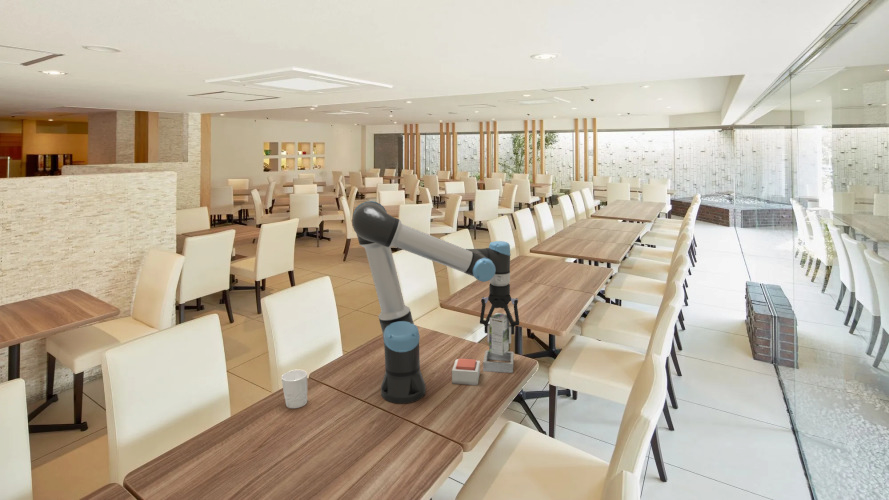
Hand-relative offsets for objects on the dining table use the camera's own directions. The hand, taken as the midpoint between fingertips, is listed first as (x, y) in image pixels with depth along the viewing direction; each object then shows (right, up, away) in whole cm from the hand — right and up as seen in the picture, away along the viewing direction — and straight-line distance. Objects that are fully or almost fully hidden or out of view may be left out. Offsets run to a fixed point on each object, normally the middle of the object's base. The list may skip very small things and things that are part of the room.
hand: (499, 341), depth 173 cm
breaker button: (-13, -11, -8) cm, 19 cm away
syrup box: (0, -4, +1) cm, 4 cm away
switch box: (-13, -12, -8) cm, 19 cm away
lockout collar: (0, -10, +2) cm, 10 cm away
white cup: (-69, -16, -23) cm, 75 cm away
